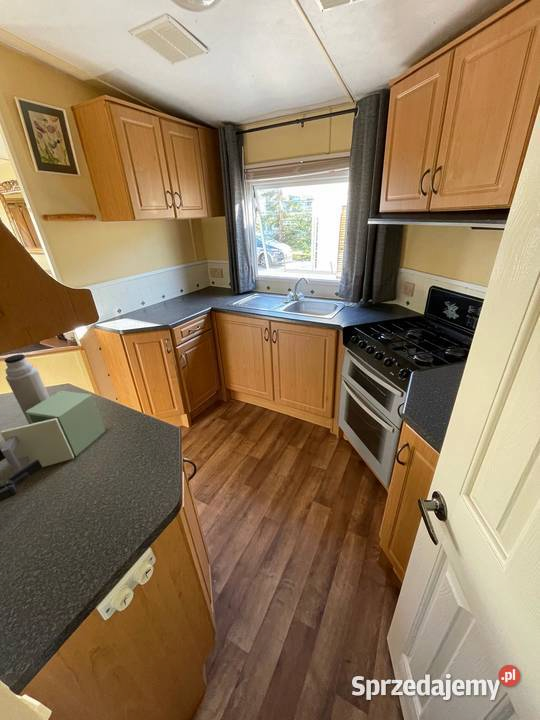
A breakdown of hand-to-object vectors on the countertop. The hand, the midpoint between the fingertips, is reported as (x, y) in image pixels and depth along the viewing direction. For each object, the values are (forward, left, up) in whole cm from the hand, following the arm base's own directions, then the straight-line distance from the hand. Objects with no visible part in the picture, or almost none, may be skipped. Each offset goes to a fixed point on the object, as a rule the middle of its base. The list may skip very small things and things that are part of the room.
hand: (24, 456), depth 78 cm
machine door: (+2, +2, -8) cm, 9 cm away
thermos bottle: (-6, +25, -9) cm, 27 cm away
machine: (+5, +15, -9) cm, 18 cm away
